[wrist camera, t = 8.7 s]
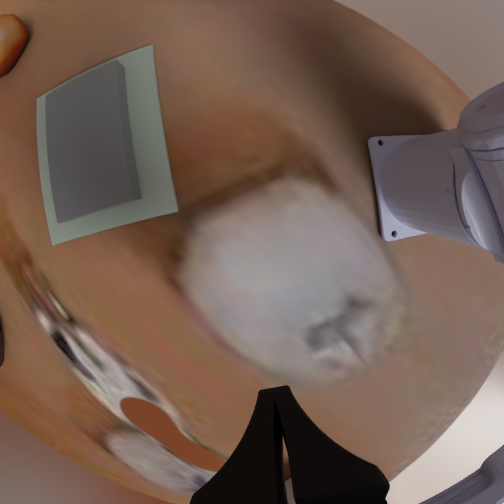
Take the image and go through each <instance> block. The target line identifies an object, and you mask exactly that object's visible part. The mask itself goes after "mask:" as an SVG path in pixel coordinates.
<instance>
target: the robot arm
mask: <svg viewBox="0 0 504 504" xmlns="http://www.w3.org/2000/svg"><path fill="white" fill-rule="evenodd" d="M378 140H380V141H381V143H382V145H381V146H380V145H379V144H378ZM368 148H369V153H370V158H371V164H372V169H373V175H374V181H375V187H376V194H377V201H378V209H379V217H380V226H381V236H382V238H383V240H385V241H393V240H397V239H402V238H406V237H411V236H416V235H420V234H425V233H430V234H434V235H437V236H441V237H444V238H448V239H451V240H455V241H458V242H461V243H465V244H468V245H471V246H474V247H478V248H481V249H484V250H487V251H489V252H491V253H492V254H493V256H494V258H495V260H496V261H498V262H501V263H503V264H504V82H502V83H500V84H498V85H496V86H494V87H492V88H490V89H488V90H487V91H485V92H483V93H482V94H480V95H479V96H478V97H476V98H475V99H474V100H472V101H471V102H470V103H469V104H468V105H467V106H466V107H465V108H464V109H463V110H462V112H461V114H460V118H459V123H458V125H457V128H454V129H450V130H446V131H442V132H438V133H434V134H430V135H401V136H379V137H371V138H370V139H369V140H368ZM392 231H394V232H395V234H394V236H392V235H391V234H392ZM283 438H284V441H285V445H286V449H287V452H288V458H289V465H290V472H291V480H292V488H293V496H294V500H295V504H387V501H386V499H385V498H386V495H387V493H388V491H389V488H390V485H389V482H388V480H387V479H386V477H385V476H384V474H383V473H382V472H381V471H380V469H379V468H378V467H377V466H376V465H374V464H372V463H369V462H367V461H365V460H363V459H361V458H359V457H357V456H355V455H354V454H352V453H350V452H349V451H347V450H346V449H344V448H343V447H341V446H340V445H338V444H337V443H335V442H334V441H333V440H332V439H330V438H329V437H328V436H327V435H326V434H325V433H323V432H322V431H321V430H320V429H319V428H318V427H317V426H316V425H315V424H314V423H313V421H312V420H311V419H310V418H309V417H308V416H307V415H306V413H305V412H304V411H303V409H302V408H301V407H300V405H299V404H298V402H297V401H296V399H295V398H294V396H293V394H292V392H291V390H290V387H289V386H287V385H286V386H280V387H275V388H269V389H263V390H260V391H259V392H258V398H257V402H256V406H255V409H254V412H253V414H252V417H251V420H250V422H249V425H248V427H247V429H246V431H245V433H244V435H243V437H242V439H241V441H240V442H239V444H238V446H237V447H236V449H235V450H234V452H233V453H232V455H231V456H230V458H229V459H228V460H227V462H226V463H225V464H224V465H223V467H222V468H221V469H220V470H219V471H218V472H217V473H216V474H215V475H214V476H213V477H212V478H211V479H210V480H209V481H208V482H207V483H206V484H205V485H204V486H202V487H201V488H200V489H199V490H198V491H197V492H195V493H194V494H193V496H192V498H191V501H190V504H288V499H287V493H286V486H285V479H284V461H283ZM503 502H504V445H503V446H502V447H501V448H499V449H498V450H497V451H495V452H494V453H493V454H491V455H490V456H489V457H488V458H487V459H486V460H485V461H484V462H483V464H482V465H481V468H479V469H478V470H477V471H475V472H474V473H472V474H471V475H469V476H467V477H466V478H465V479H463V480H461V481H460V482H458V483H457V484H455V485H453V486H451V487H450V488H448V489H446V490H444V491H443V492H441V493H439V494H437V495H435V496H433V497H431V498H430V499H427V500H425V501H423V502H421V503H419V504H502V503H503Z"/></svg>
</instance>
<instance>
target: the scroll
mask: <svg viewBox="0 0 504 504" xmlns="http://www.w3.org/2000/svg"><path fill="white" fill-rule="evenodd" d="M3 361H4V345H3V340H2V335H1V331H0V367H1V366H2V364H3Z"/></svg>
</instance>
